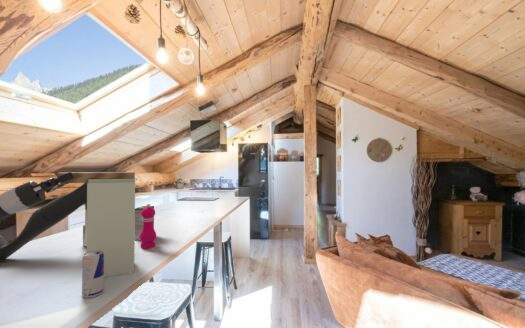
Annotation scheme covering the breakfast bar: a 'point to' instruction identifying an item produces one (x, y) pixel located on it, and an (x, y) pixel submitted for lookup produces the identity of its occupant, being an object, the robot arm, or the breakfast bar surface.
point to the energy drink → (92, 274)
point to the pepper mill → (148, 228)
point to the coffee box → (139, 222)
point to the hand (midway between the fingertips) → (76, 174)
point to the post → (112, 223)
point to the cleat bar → (97, 176)
